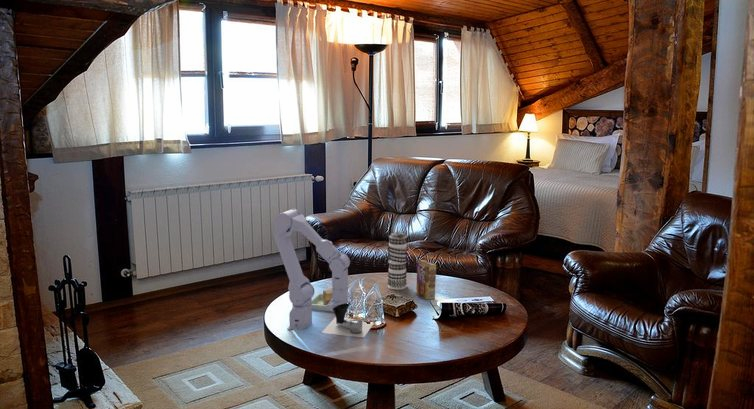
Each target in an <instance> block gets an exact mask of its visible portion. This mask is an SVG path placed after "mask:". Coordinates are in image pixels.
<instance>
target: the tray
mask: <svg viewBox="0 0 754 409" xmlns="http://www.w3.org/2000/svg"><path fill="white" fill-rule="evenodd" d="M312 311H324V312H334V311H333V310H327V305H323V293H317V294H316V295H315V296H313V297H312ZM334 313H335V312H334Z"/></svg>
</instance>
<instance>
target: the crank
mask: <svg viewBox="0 0 754 409" xmlns="http://www.w3.org/2000/svg"><path fill="white" fill-rule="evenodd" d="M351 319H352V318H349V317H346V316H345V317H344V322H343V324H340V323H337V318H336V324H337V325H340V326H342V327H345V328H347V329H349V330H350V332H351V333H353V334H360V333H362V320H363V319H356V318H354V320H351Z"/></svg>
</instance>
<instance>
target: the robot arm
mask: <svg viewBox="0 0 754 409" xmlns="http://www.w3.org/2000/svg"><path fill="white" fill-rule="evenodd" d="M273 225H274V228H273V229H274V231H273V237H274V240H275V244H276V246H277V249H278V252H279V255H280V257H281V261H282V263H283V266H284V268H285V272H286V274H287V277H288V280H289V283H288V288H287V289H288V292H289V295H288V298H289V301H290V303H291V305H292V308H291V310H290V312H289V315H288V316H289V320H288V321H289V326H287V328H286V329H287V330H288V331H289V330H292V331H293V330H294V329H298V330H299V329H300V330H306V329H307V328H308V327H309V326H311V325H312V324H313V310H312V299H313V298H314V295H315V287H314V285H313V284H312V283H311V282H310V280H309V278H308V277H307V276H305V274H304V273H303V270H302V267H301V265H300V261H299V258H298V256H297V253H296V251H295V248H294V245H293V242H292V239H291V234H292V233H293V232H300V233H301V234H302V235H303V236H304V237H305V238H307V239H308V240H309V241H310V242H311V243H312V244H313V245H314V246H315V252H317V253H318V255H320V256H321V258H323V259H324V261H326V262H327V263H328V267H329V269H330V271H331V285H332V287H331V289H332V300H331V301H330V302H329V303H328V304H327V310H333V311H334V314H335V317H336V318H337V323H340V324H343V322H344V317H346V313H347V312H348V309H349V307H350V304H351V301H352V300H353V299H354V294H353V293H349V271H348V270H349V269H348V268H349V267H350V265H351V260H350V258H349V256H348V255H347V254H346V253H344V252H343V253H342V252H341V250H340V251H339V250H338V248H336V246H334V244H333V242H332V241H331V240H328V239H323V238H322V237H321V236H320V234H319V233H318V232H317V231H316V230H315V229H314V228H313V227H312V225H311V224H310V223H309V221H307V220H306V217H305V215H304V214H301V212H300V211H299V210H298V209H296V208H291V209H289V210H286V211H284V212H280V213H278V214H277V215H276V216H275V218H274V219H273ZM347 303H350V304H347ZM333 311H332V312H333Z"/></svg>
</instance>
